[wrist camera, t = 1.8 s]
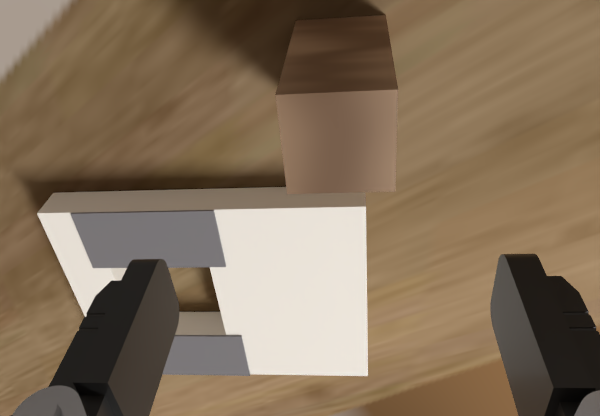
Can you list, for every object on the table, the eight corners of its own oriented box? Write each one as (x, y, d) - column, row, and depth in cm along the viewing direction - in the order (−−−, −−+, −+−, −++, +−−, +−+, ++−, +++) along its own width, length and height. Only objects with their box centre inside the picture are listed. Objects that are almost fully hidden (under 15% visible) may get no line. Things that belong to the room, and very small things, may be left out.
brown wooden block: (385, 14, 24) (398, 89, 17) (384, 98, 26) (395, 191, 20) (295, 20, 24) (275, 95, 18) (302, 102, 26) (287, 194, 20)
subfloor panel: (364, 184, 29) (365, 208, 27) (367, 351, 37) (367, 377, 35) (53, 192, 31) (35, 214, 29) (120, 349, 39) (110, 373, 37)
